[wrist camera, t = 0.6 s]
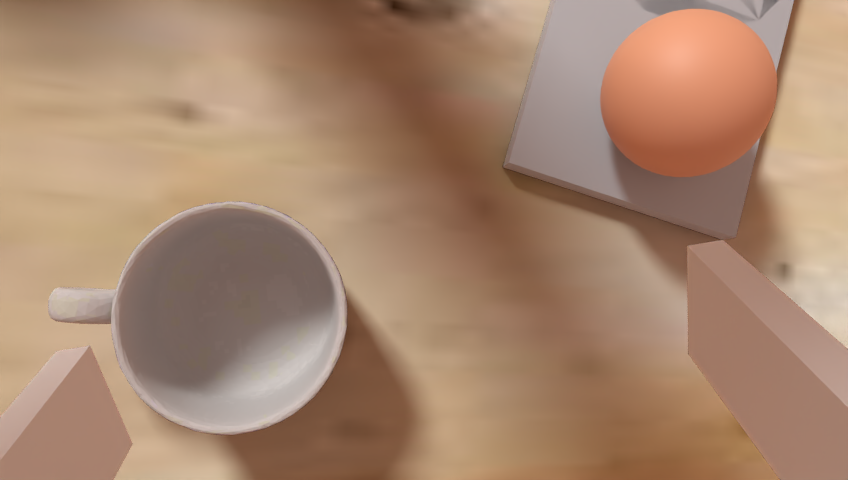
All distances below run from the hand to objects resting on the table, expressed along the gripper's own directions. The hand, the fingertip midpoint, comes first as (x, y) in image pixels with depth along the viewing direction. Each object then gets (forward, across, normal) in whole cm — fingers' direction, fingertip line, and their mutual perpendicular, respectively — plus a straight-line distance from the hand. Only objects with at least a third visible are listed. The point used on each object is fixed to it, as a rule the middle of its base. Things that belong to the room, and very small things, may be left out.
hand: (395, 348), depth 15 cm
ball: (+24, +16, -2) cm, 29 cm away
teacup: (+22, -12, -9) cm, 26 cm away
